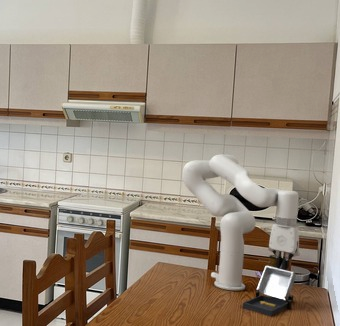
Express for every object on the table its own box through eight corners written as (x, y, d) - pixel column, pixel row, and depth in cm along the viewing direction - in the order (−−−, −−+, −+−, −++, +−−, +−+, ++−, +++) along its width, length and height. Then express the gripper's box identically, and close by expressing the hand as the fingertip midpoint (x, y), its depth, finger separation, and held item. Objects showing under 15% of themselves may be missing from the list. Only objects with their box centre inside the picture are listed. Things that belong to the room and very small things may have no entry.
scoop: (259, 293, 193) (256, 289, 191) (273, 257, 200) (270, 252, 197) (287, 301, 185) (285, 296, 183) (301, 263, 192) (298, 258, 190)
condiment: (274, 280, 224) (276, 254, 223) (288, 285, 216) (290, 258, 215) (261, 281, 221) (263, 254, 220) (274, 286, 213) (276, 259, 212)
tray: (242, 307, 183) (243, 302, 183) (260, 299, 194) (261, 294, 194) (271, 316, 176) (271, 311, 176) (288, 307, 186) (288, 302, 186)
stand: (254, 300, 193) (255, 291, 193) (266, 294, 201) (267, 287, 201) (289, 309, 184) (289, 301, 184) (300, 304, 191) (300, 295, 191)
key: (261, 300, 190) (261, 302, 190) (259, 302, 188) (259, 303, 188) (276, 304, 186) (276, 305, 186) (274, 305, 185) (274, 307, 185)
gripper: (262, 219, 195) (258, 265, 196) (303, 226, 184) (299, 275, 185) (270, 218, 200) (266, 262, 201) (310, 224, 189) (306, 271, 190)
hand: (282, 268), depth 193 cm, fingers closed on scoop
